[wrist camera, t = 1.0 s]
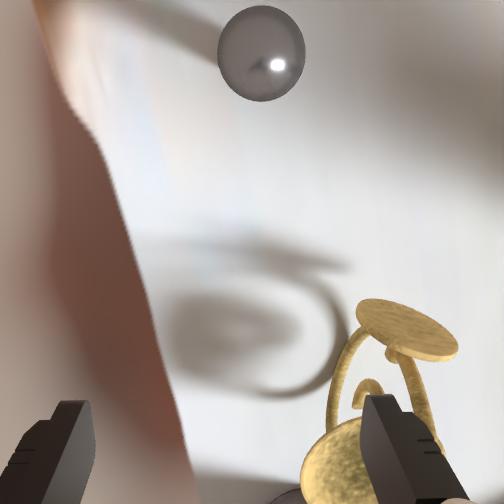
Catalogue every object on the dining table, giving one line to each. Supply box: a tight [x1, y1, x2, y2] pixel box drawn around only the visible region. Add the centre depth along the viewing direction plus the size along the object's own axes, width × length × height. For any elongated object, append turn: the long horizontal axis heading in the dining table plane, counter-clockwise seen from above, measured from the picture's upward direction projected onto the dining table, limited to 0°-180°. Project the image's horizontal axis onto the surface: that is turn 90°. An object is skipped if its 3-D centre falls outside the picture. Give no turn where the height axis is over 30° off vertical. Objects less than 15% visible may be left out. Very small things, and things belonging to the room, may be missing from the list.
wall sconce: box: [300, 299, 458, 504], centre depth 27 cm, size 14×10×25 cm
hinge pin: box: [217, 6, 305, 102], centre depth 24 cm, size 4×4×12 cm
